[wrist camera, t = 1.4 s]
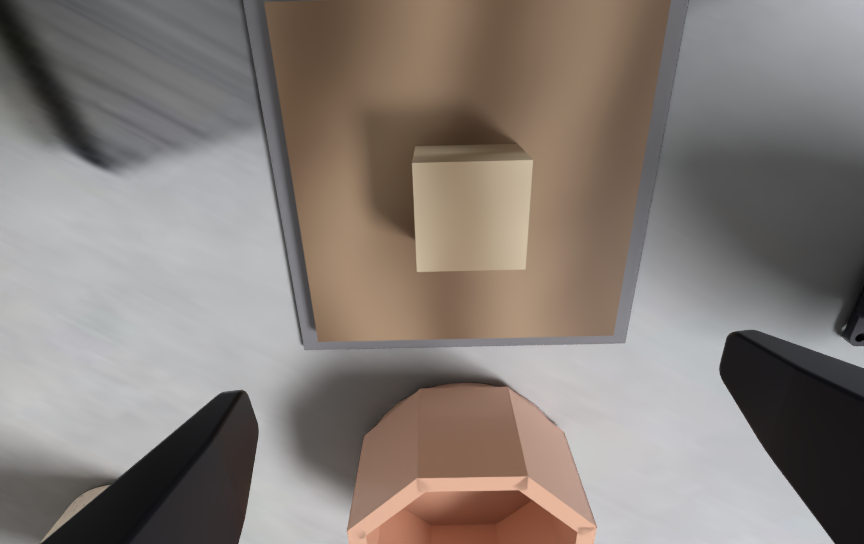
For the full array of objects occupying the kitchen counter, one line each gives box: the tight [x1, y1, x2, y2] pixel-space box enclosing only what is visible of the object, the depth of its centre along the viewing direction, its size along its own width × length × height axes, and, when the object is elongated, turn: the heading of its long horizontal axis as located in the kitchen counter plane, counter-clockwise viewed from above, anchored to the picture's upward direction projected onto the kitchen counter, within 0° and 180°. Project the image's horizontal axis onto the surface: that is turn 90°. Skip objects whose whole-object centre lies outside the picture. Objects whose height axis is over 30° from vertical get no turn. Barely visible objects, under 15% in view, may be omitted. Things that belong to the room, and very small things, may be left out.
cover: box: [264, 0, 671, 342], centre depth 18 cm, size 14×14×4 cm
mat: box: [243, 0, 689, 350], centre depth 20 cm, size 16×16×1 cm
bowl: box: [347, 383, 597, 544], centre depth 24 cm, size 11×11×6 cm
